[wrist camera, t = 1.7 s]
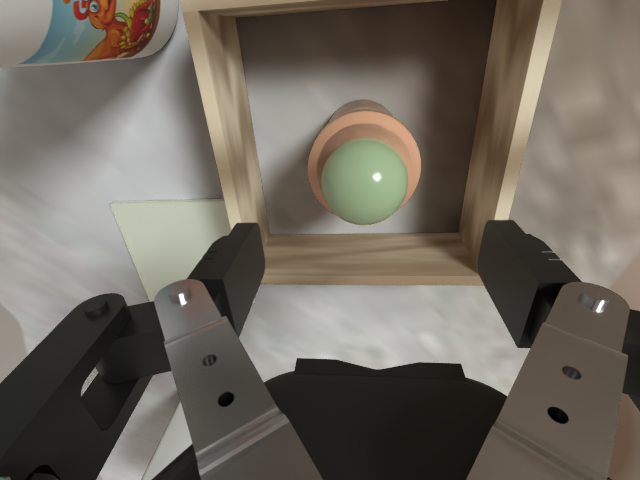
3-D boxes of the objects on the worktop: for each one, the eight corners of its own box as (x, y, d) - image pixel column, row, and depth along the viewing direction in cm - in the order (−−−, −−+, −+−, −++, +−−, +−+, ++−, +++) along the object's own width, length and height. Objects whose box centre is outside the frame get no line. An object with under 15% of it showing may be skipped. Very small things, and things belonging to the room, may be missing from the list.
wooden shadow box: (220, 3, 21) (178, -8, 16) (515, -22, 19) (573, -45, 14) (262, 242, 30) (243, 284, 25) (466, 240, 28) (491, 285, 23)
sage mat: (112, 201, 29) (109, 203, 29) (234, 198, 28) (233, 201, 28) (152, 298, 35) (150, 302, 34) (255, 299, 34) (254, 303, 33)
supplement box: (190, 376, 41) (115, 529, 28) (258, 401, 42) (216, 557, 30) (174, 414, 46) (104, 560, 33) (236, 435, 47) (192, 584, 34)
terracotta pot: (316, 96, 24) (291, 132, 14) (407, 90, 23) (443, 126, 13) (321, 180, 27) (303, 256, 17) (401, 177, 26) (428, 256, 17)
